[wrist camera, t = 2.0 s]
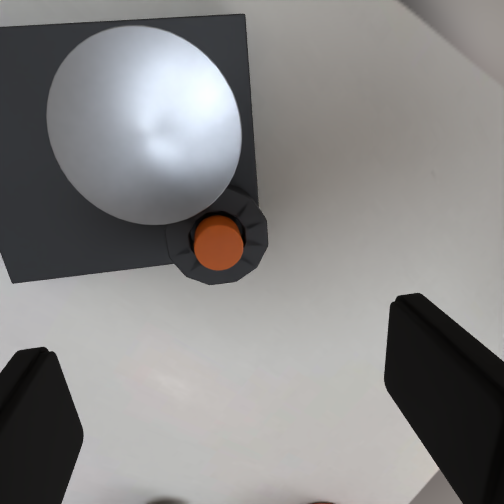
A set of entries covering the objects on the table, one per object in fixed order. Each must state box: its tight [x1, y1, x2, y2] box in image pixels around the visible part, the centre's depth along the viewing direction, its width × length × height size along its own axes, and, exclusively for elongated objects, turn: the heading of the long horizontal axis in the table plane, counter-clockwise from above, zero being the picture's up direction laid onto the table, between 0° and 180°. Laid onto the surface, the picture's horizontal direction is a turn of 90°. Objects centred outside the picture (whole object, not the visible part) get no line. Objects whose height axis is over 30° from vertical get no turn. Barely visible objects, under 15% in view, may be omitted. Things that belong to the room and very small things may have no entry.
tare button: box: [194, 215, 243, 270], centre depth 18 cm, size 2×2×2 cm
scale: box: [0, 14, 268, 285], centre depth 18 cm, size 14×13×4 cm
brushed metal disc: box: [46, 25, 242, 225], centre depth 16 cm, size 8×8×1 cm
